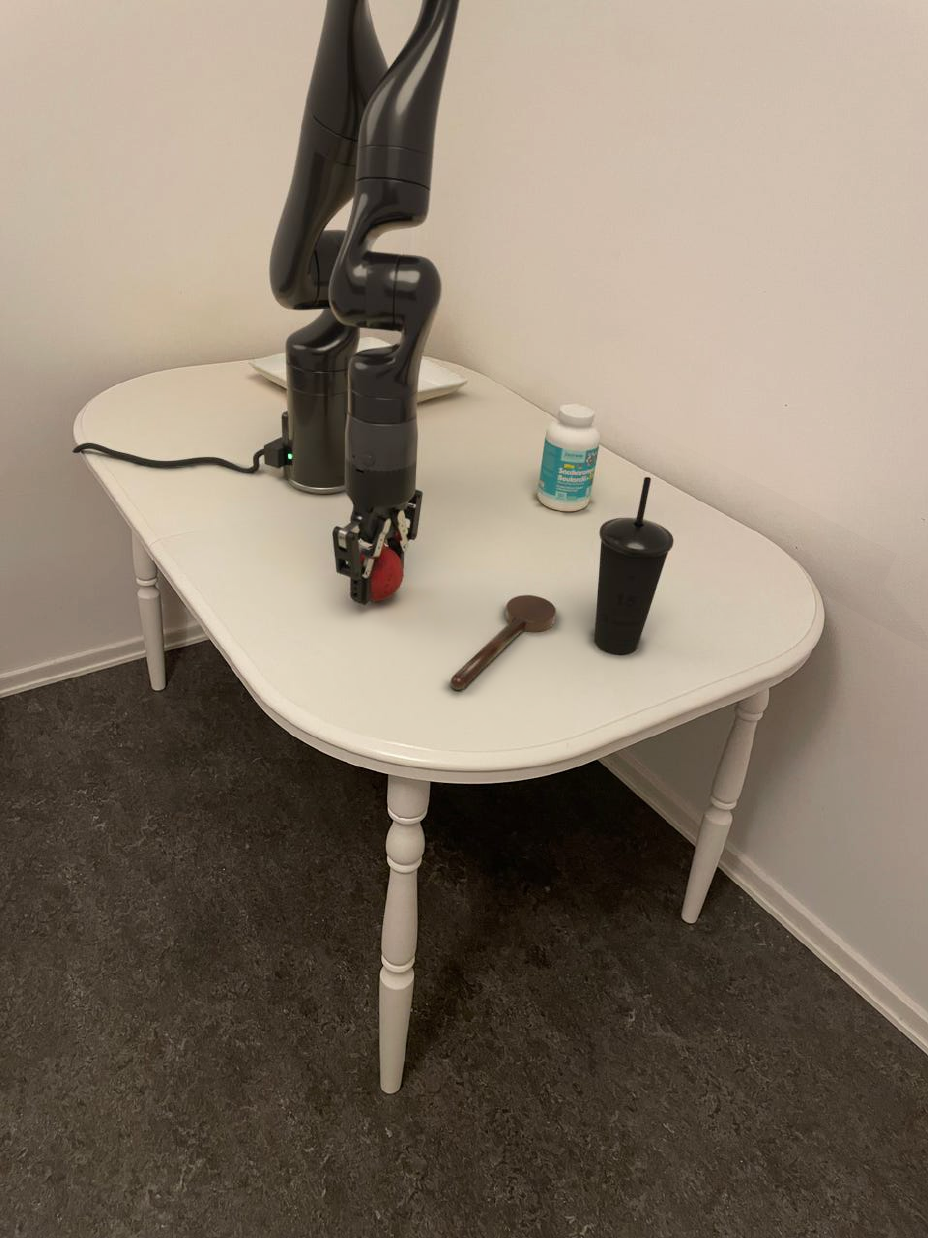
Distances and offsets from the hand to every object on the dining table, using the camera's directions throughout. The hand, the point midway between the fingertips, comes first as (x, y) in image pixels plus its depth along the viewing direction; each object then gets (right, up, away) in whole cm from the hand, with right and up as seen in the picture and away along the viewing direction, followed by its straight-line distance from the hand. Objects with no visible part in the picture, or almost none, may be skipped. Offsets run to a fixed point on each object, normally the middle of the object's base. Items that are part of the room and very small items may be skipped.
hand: (377, 589), depth 109 cm
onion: (0, -1, +1) cm, 2 cm away
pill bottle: (+24, +13, +26) cm, 38 cm away
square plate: (-8, +36, +56) cm, 67 cm away
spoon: (+14, -7, -5) cm, 16 cm away
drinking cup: (+27, -6, -2) cm, 27 cm away
